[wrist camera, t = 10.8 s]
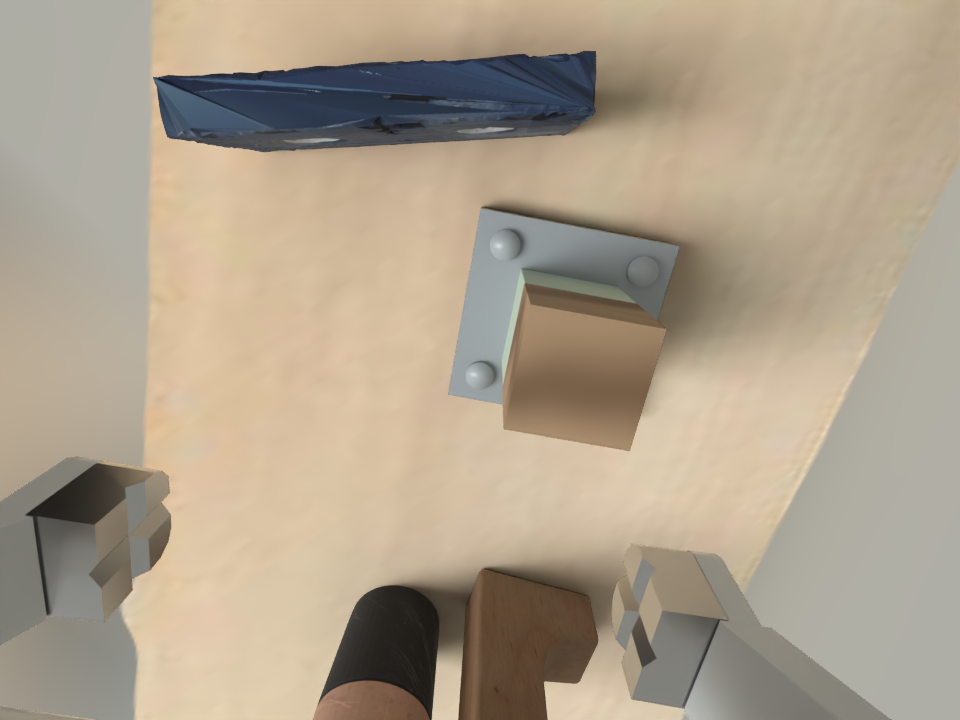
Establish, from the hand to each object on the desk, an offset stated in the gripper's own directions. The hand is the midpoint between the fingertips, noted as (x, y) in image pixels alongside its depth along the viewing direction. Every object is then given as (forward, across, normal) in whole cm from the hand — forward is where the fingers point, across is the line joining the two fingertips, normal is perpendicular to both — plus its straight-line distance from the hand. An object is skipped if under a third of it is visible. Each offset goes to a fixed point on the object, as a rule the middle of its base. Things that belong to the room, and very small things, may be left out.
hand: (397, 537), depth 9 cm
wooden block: (+26, -8, +25) cm, 37 cm away
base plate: (+26, -6, +2) cm, 27 cm away
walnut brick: (+20, -6, +2) cm, 20 cm away
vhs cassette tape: (+26, +5, -8) cm, 28 cm away
